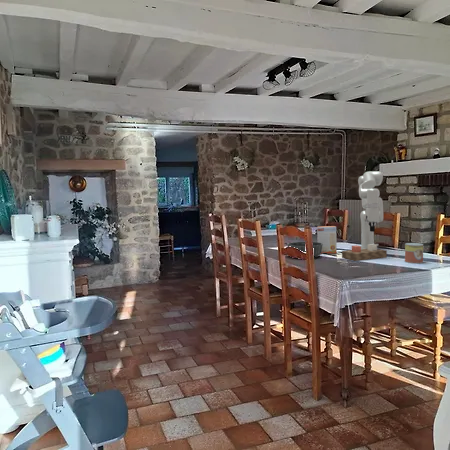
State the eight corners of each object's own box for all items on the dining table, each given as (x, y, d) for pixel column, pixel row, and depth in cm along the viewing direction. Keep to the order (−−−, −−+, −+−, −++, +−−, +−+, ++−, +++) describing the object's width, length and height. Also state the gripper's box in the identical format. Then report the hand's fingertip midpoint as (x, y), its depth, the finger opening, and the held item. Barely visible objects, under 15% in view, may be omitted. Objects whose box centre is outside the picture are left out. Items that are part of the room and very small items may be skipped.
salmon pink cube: (356, 251, 299) (356, 245, 298) (360, 252, 295) (360, 246, 294) (351, 252, 297) (351, 245, 297) (355, 252, 293) (355, 246, 293)
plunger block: (373, 254, 310) (373, 248, 310) (386, 257, 297) (386, 250, 297) (342, 257, 300) (342, 251, 300) (354, 260, 287) (354, 253, 287)
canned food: (411, 263, 273) (411, 245, 271) (401, 260, 284) (401, 243, 282) (426, 262, 275) (427, 244, 274) (415, 259, 286) (416, 242, 285)
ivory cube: (372, 249, 304) (372, 244, 303) (376, 250, 300) (376, 244, 299) (367, 250, 302) (367, 244, 302) (371, 251, 298) (371, 245, 298)
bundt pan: (283, 254, 322) (282, 241, 321) (315, 253, 325) (315, 240, 324) (292, 260, 295) (292, 246, 294) (328, 258, 299) (328, 245, 298)
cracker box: (335, 252, 325) (335, 225, 323) (336, 253, 319) (336, 226, 317) (317, 252, 327) (317, 226, 325) (318, 253, 321) (318, 226, 319)
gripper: (377, 205, 304) (376, 230, 306) (360, 206, 299) (360, 231, 300) (384, 205, 297) (384, 231, 299) (367, 206, 292) (367, 232, 293)
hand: (372, 231), depth 299 cm, fingers closed
